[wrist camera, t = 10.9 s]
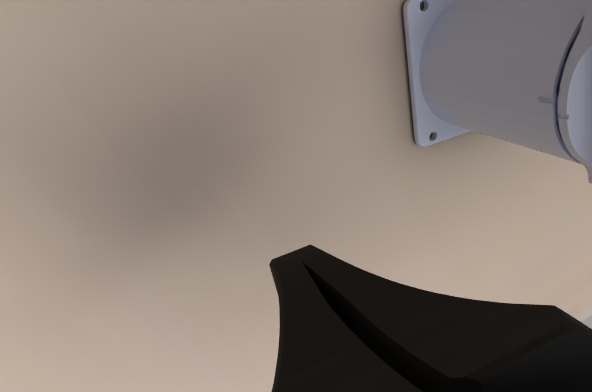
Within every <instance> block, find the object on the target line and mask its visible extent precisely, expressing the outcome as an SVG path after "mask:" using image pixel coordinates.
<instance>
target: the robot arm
mask: <svg viewBox="0 0 592 392" xmlns="http://www.w3.org/2000/svg"><path fill="white" fill-rule="evenodd" d="M421 2H423V3H424V8H423V10H422V11H421V10H420V3H421ZM403 14H404V25H405V37H406V48H407V59H408V70H409V81H410V92H411V103H412V114H413V125H414V136H415V142H416V144H417V145H419V146H421V147H427V146H430V145H433V144H436V143H439V142H442V141H444V140H447V139H450V138H453V137H456V136H459V135H462V134H465V133H468V132H471V131H475V132H478V133H482V134H485V135H488V136H492V137H495V138H498V139H501V140H505V141H508V142H511V143H515V144H518V145H521V146H524V147H528V148H531V149H534V150H538V151H541V152H544V153H547V154H551V155H554V156H557V157H560V158H564V159H567V160H570V161H574V162H577V163H580V164H582V165H584V167H585V168H586V170H587V172H588V178H589V183H592V0H407V1H406V2H405V4H404V6H403ZM432 132H433V136H432V138H431V139H430V138H429V136H430V134H431V133H432ZM269 265H270V268H271V272H272V275H273V279H274V282H275V285H276V289H277V292H278V296H279V306H280V336H279V349H278V358H277V365H276V372H275V378H274V384H273V388H272V392H592V329H591V328H589V327H587V326H586V325H584V324H583V323H581V322H580V321H578V320H577V319H575V318H574V317H572V316H570V315H569V314H567V313H566V312H564V311H563V310H561V309H559V308H557V307H556V306H552V305H530V304H509V303H498V302H489V301H480V300H472V299H466V298H459V297H454V296H449V295H444V294H438V293H434V292H429V291H425V290H421V289H417V288H414V287H410V286H407V285H403V284H400V283H397V282H394V281H391V280H388V279H385V278H382V277H380V276H377V275H374V274H372V273H369V272H367V271H364V270H362V269H360V268H357V267H355V266H353V265H351V264H349V263H346V262H344V261H342V260H340V259H338V258H336V257H334V256H332V255H330V254H328V253H326V252H324V251H322V250H320V249H318V248H316V247H314V246H312V245H308V246H306V247H303V248H301V249H298V250H295V251H293V252H290V253H288V254H285V255H283V256H280V257H278V258H275V259H272V261H271V262H270V264H269Z"/></svg>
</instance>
